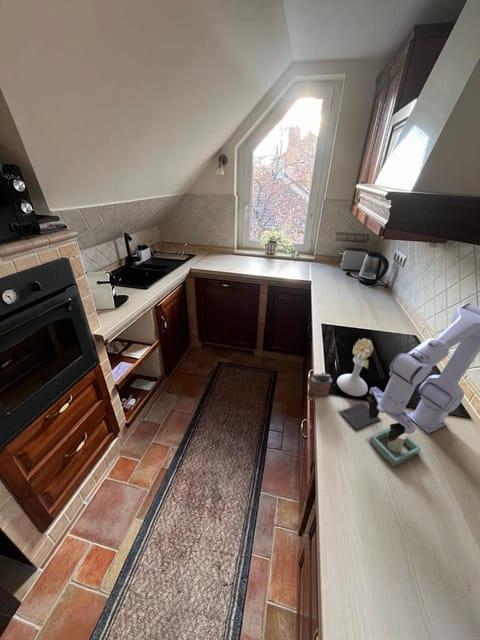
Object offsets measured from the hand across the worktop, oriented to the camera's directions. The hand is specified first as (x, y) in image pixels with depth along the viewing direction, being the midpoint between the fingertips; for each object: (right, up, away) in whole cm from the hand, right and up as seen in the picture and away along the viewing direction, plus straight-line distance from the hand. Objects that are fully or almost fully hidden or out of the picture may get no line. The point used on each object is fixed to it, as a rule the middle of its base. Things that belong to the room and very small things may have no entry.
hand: (381, 428), depth 74 cm
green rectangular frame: (+7, -8, +5) cm, 12 cm away
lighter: (-11, +3, +24) cm, 27 cm away
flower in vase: (+3, +4, +27) cm, 27 cm away
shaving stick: (+7, -8, +5) cm, 12 cm away
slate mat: (+1, -2, +15) cm, 15 cm away
